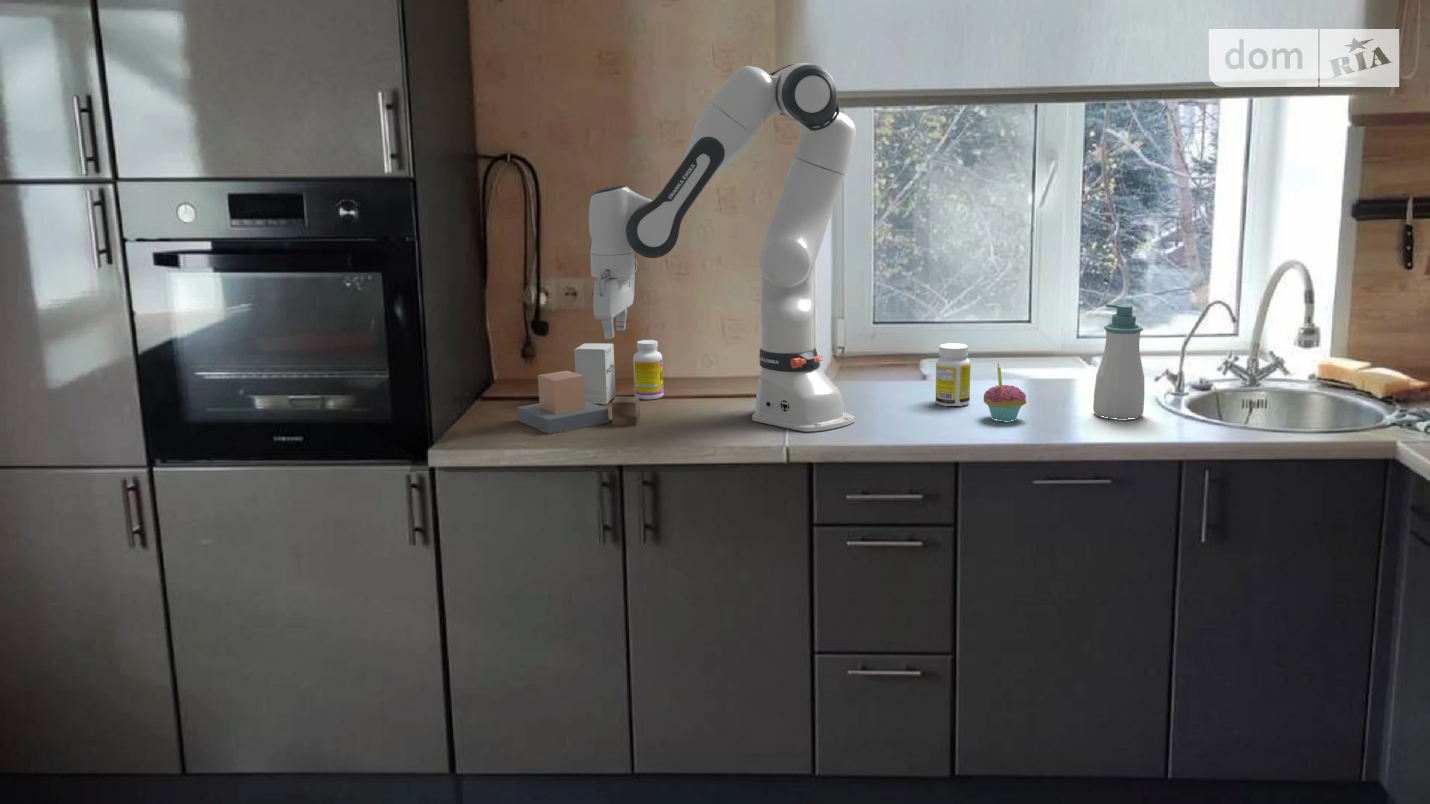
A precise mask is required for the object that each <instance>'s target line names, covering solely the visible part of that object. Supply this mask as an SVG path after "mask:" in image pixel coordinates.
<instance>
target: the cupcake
mask: <svg viewBox="0 0 1430 804" xmlns="http://www.w3.org/2000/svg"><path fill="white" fill-rule="evenodd" d="M996 368H997V369H996V370H997V381H998V385H996V386H992V387H990V388H988V389H987V390H985V391H984V394H983V403H984V404H986V405H987V406H988V410H989V413H990V415H991V416H990V417H991V419H992V418H993V419H997V420H1002V421H1011V420H1015V419H1016V420H1017V417H1018V415H1019V413H1020V410H1021V408H1022V406H1024V405H1026V404H1027V398H1026V397H1027V395H1026V393H1025V392H1024V391H1022V390H1021V389H1020V388H1018V387H1017V386H1014V385H1012V384H1011V385H1009V384H1007V385H1006V384H1004V385H1003V382H1002V381H1003V380H1002V369H1001V366H1000V364H999V363H997V367H996ZM993 419H992V420H993ZM1016 420H1015V421H1016Z"/></svg>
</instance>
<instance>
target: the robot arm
mask: <svg viewBox="0 0 1430 804" xmlns="http://www.w3.org/2000/svg"><path fill="white" fill-rule="evenodd" d="M777 114H779V115H782V116H784V117H787V118H788V119H790V120H793V121H794V122H795V121H796V122H798V124H799V127H800V137H799V143H798V145H797V148H796V150H795V153H794V157H793V158H792V161H791V165H790V167H789V170H788V172H787V175H786V178H785V181H784V185H783V187H782V190H781V192H780V196H779V198H778V201H777V204H776V207H775V210H774V213H773V214H772V215H773V216H772V218H771V220H770V224H769V225H768V229H767V232H766V235H765V237H764V240H763V243H762V245H761V248H760V253H759V256H758V261H759V268H760V271H761V304H760V305H761V306H760V307H761V309H760V312H761V313H760V315H761V317H760V319H761V323H760V324H761V327H760V328H761V330H760V331H761V333H760V334H761V348H760V349H759V354H758V359H759V366H760V367H761V368H760V369H761V370H760V374H759V377H758V380H757V383H756V384H757V385H756V398H755V407H754V408H755V410H754V413H753V414H752V415H751V420H752V421H753V422H758V423H762V424H767V425H770V426H771V425H772V426H777V427H780V428H784V429H785V428H786V429H791V430H794V431H800V432H806V433H807V432H820V431H821V432H822V431H827V430H832V429H837V428H840V427H845V426H848V425H850V424H853V423H854V422H855V421H856V419H855V416H854V415H853V414H850V413H848V412H846V411H844V401H843V395H842V393H841V391H840V390H839V388H838V387H837V386H836V385H835V384H834V383H833V382H832V380H830V378H829V377H828V375H826V374H825V372H824V371H823V370H822V369H821V363H820V362H823V361H824V359H821V358H823V357H824V355H822V354H821V355H819V354H818V351H817V349H816V347H815V263H816V260H817V257H818V254H819V251H820V248H821V245H822V242H823V239H824V236H825V234H826V231H827V228H828V225H829V221H830V220H831V217H832V213H833V211H834V207H835V205H836V202H837V199H838V197H839V194H840V192H841V188H842V185H843V183H844V180H845V177H846V174H847V171H848V169H849V165H850V162H851V159H852V156H853V151H854V146H855V141H856V135H857V130H856V125H855V123H854V121H853V120H852V119H851V118H850V117H849V116H848V115H846V114H845V113H843V112H841V111H840V105H839V98H838V90H837V86H836V83H835V80H834V78H833V76H832V75H831V73H830V72H829V71H827V70H826V69H825V68H824V67H822V66H820V65H816V64H813V63H810V62H798V63H794V64H788V65H786V66H783V67H782V68H779V69H778V70H775V71H774V72H771V73H767V72H766V70H763V69H762V68H760V67H756V66H752V65H746V66H743V67H740V68H739V69H738V70H737V71H735V72H734V73H733V75H731V76H730V77H729V78H728V79H727V80H726V81H725V82H724V83H723V84H722V86H721V87H720V88H719V89H718V90H717V92H716V93H715V94H714V95H713V97H712V98H711V100H710V101H709V102H708V103H707V105H706V106H705V108H704V109H703V111H702V112H701V115H700V116H699V118H698V121H696V124H695V126H694V128H693V131H692V133H691V136H690V138H689V144H688V146H687V150H686V152H685V154H684V157H683V158H682V161H681V162H680V164H679V166H678V168H677V169H676V170H675V171H674V173H673V174H672V176H671V177H670V178H669V180H668V181H667V183H666V184H665V185H664V187H663V188H662V189H661V191H660V192H659V194H658V195H657V196H656V197H655V198H653V199H650V198H648V197H645V196H643V195H641V194H639V193H637V192H636V191H633V190H632V189H631V188H629V187H628V186H627V185H625V184H624V185H619V184H618V185H614V186H608V187H605V188H601V189H599V190H596V191H595V192H594V193H593V195H592V196H591V197H590V200H589V207H588V208H589V209H588V210H589V211H588V230H589V235H590V239H591V247H590V251H589V252H590V255H589V256H590V275H591V277H592V278H596V281H594V283H593V284H594V285H593V293H592V294H593V295H592V297H593V298H592V302H593V303H592V304H593V305H592V306H593V307H592V309H593V317H594V319H595V320H601V325H602V329H603V337H604V339H605V340H612V339H614V338H615V330H616V331H619V332H622V331H624V330H625V329H626V321H627V315H628V314H627V313H628V308H629V307H631V306H632V305H633V304H634V300H635V285H636V284H635V282H636V279H635V276H636V275H635V273H636V272H637V270H638V262H637V260H636V259H635V253H636V254H638V255H639V256H642V257H643V258H648V259H658V258H661V257H664V256H665V255H667V254H668V253H670V252H671V251H672V250H673V249H674V248H675V246H676V244H677V241H678V239H679V234H680V229H681V224H682V221H683V219H684V217H685V215H686V214H687V212H688V211H689V209H690V208H691V206H692V205H693V203H694V202H695V200H697V198H698V197H699V195H700V194H701V192H702V191H703V190H704V188H705V186H706V185H707V184H708V183H709V182H710V181H711V179H712V178H714V177H715V175H717V174H718V173H719V172H720V171H722V170H723V169H724V168H725V167H727V166H728V165H729V164H730V163H732V161H734V160H735V159H736V158H737V157H738V156H739V155H740V154H741V153H742V152H743V150H745V149H746V148H747V146H748V145H749V144H750V143H751V141H752V140H753V139H754V137H755V136H756V134H757V133H758V131H759V130H760V128H761V127H762V126H763V125H764V124H765V122H766V121H767V120H768V119H770V118H771V117H772V116H774V115H777ZM614 318H615V319H616V320H615V328H614Z"/></svg>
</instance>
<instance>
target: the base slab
mask: <svg viewBox="0 0 1430 804" xmlns="http://www.w3.org/2000/svg"><path fill="white" fill-rule="evenodd" d="M517 420H518V422H520V423H521V424H524V423H525V424H524V425H526V426H530V427H531V426H533V427H532V428H534V427H535V428H534V429H536V428H537V429H536V430H538V429H540V430H543V431H544V432H543V431H542V432H543V433H545V432H546V433H545V434H547V433H553V434H557V433H556V432H558V433H561V432H560V431H564V432H566V431H565V430H569V431H571V430H570V429H574V430H579V429H583V428H590V427H595V426H598V425H604V424H609V423H610V421H609V420H610V419H609V409H608V408H606V407H605V406H601V405H600V404H594V403H591V402H588V401H585V409H579V410H574V411H568V412H563V413H558V414H555V413H552V412H550V411H547V410H545V409H542V408H540V402H539V403H533V404H528V405H523V406H517ZM540 430H539V431H540Z"/></svg>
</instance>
